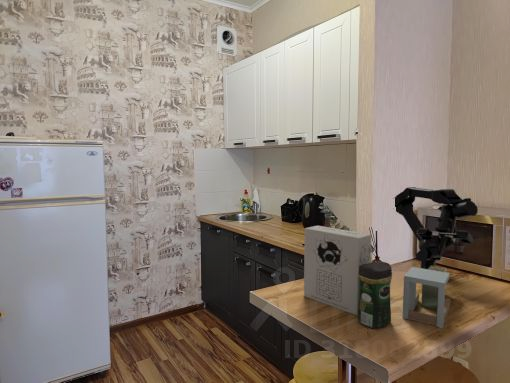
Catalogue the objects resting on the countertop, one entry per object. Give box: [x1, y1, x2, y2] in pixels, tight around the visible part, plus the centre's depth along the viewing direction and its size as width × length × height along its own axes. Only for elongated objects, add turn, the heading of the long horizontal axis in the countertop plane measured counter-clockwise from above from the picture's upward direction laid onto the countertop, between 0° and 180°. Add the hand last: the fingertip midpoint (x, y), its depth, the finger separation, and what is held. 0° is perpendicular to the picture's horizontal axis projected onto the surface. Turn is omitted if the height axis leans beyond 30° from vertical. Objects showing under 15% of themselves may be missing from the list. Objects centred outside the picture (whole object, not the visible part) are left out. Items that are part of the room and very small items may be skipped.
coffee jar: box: [357, 260, 393, 329], centre depth 104 cm, size 10×8×19 cm
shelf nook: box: [402, 266, 451, 329], centre depth 110 cm, size 17×11×14 cm, turn 144°
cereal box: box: [303, 225, 372, 316], centre depth 118 cm, size 22×8×25 cm, turn 43°
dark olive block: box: [420, 265, 447, 310], centre depth 121 cm, size 16×5×10 cm, turn 144°
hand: (439, 255), depth 131 cm, fingers closed
